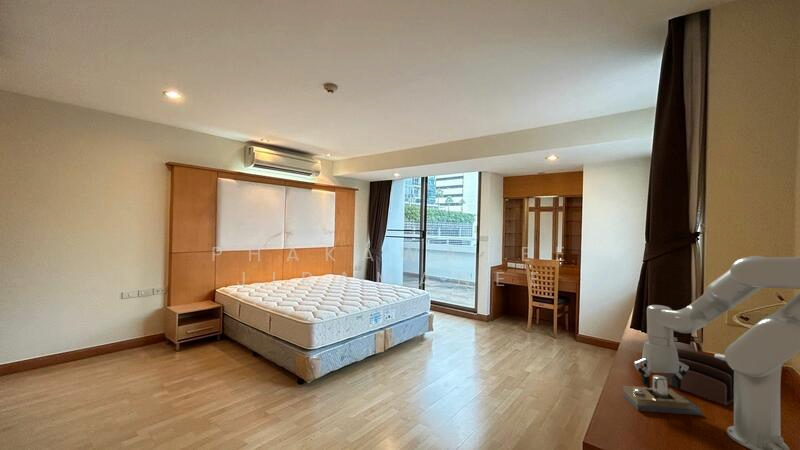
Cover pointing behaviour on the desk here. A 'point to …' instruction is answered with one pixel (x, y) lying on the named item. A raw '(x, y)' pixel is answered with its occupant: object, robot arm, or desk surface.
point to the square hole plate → (659, 401)
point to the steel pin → (660, 387)
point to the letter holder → (706, 376)
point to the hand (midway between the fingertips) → (661, 387)
